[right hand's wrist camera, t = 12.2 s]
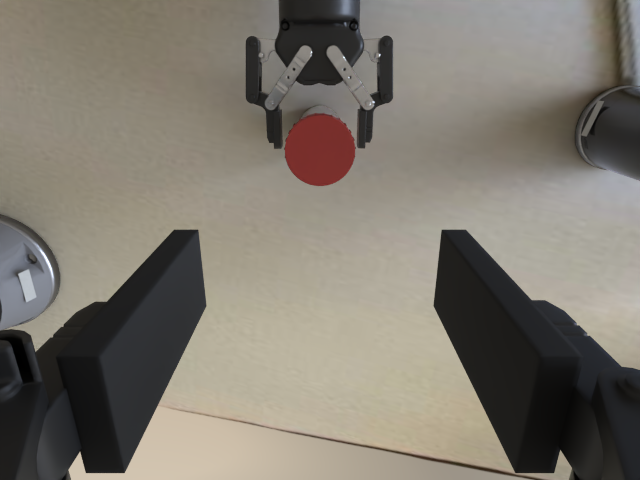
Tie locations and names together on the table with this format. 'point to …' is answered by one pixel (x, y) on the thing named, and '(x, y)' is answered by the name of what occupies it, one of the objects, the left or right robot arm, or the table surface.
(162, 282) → the right robot arm
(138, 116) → the table surface
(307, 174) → the lid
